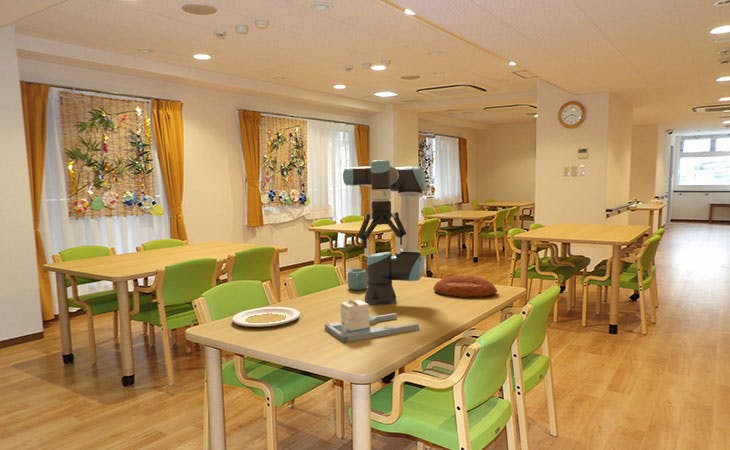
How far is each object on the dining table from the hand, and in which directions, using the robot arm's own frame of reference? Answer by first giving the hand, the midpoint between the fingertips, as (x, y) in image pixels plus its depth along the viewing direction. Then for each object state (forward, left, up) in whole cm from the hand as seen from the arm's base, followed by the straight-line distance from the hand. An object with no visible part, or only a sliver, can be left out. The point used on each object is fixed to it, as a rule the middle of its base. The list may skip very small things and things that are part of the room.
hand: (382, 255), depth 196 cm
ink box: (+1, -13, -29) cm, 32 cm away
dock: (0, -5, -29) cm, 29 cm away
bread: (-31, +62, -29) cm, 75 cm away
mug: (-68, +20, -29) cm, 77 cm away
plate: (-35, -38, -29) cm, 59 cm away
